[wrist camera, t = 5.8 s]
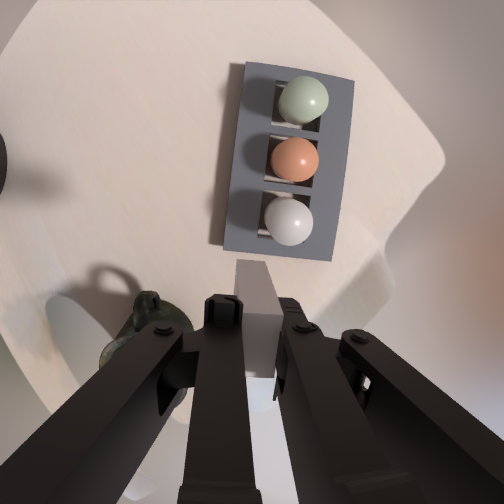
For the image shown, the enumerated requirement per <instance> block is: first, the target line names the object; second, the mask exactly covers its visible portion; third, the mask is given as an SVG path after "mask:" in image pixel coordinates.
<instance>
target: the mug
mask: <svg viewBox="0 0 504 504" xmlns="http://www.w3.org/2000/svg"><path fill="white" fill-rule="evenodd" d="M159 320H161V321H162V320H166V321H171V322H174V323H177V324H179V325H180V326H181V327H182V329H183V333H185V332H193V331H194V329H193V326H192V323H191V321H190V320H189V318H188V317H187V316H186V315H185V313H184V312H182V311H181V310H180V309H179V308H177V307H176V306H174V305H172V304H169V303H166V302H161V301H160V297H159V295H158V294H157V292H154V291H142V292H141V293H139V294H138V295H137V297H136V299H135V302H134V307H133V313H132V314H131V316H130V317H129V319H128V320H127V322H126V323H125V325H124V326H123V328H122V329H121V331H120V332H119V334H118V335H117V337H116V338H115V340H113V341H111V342H110V343H109V344H108V345H107V346H106V347H105V348H104V349H103V351H102V353H101V356H100V360H99V369H100V368H101V367H102V366H104V365H105V364H106V363H107V362H108V361H109V360H110V359H111V358H112V357H113V356H114V355H115V354H116V353H117V352H118V351H119V350H120V349H121V348H123V347H124V346H125V345H126V344H127V343H128V342H129V341H130V340H131V339H132V338H133V337H134V336H135V335H136V334H137V333H138V332H140V331H141V330H142V329H143V328H144V327H145V326H146V325H148V324H149V323H151V322H155V321H159ZM187 390H188V388H184V391H183V395H182V396H181V398H180V400H179V401H178V403H177V405H176V406H175V407H177V406H178V405H179V404H180V403H181V402H182V401H183V399H184V398H185V396H186V394H187Z"/></svg>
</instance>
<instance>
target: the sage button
mask: <svg viewBox="0 0 504 504" xmlns="http://www.w3.org/2000/svg"><path fill="white" fill-rule="evenodd" d="M328 102H329V97H328V93H327V90H326V88H325V87H324V85H323V84H322V83H321V82H320V81H318V80H317V79H315V78H312V77H309V76H299V77H296V78H294V79H292V80H291V81H289V82H288V84H287V85H286V87H285V88H284V90H283V92H282V93H281V95H280V97H279V100H278V110H279V113H280V115H281V116H282V117H283V118H284V119H285V120H286V121H287V122H289V123H291V124H294V125H304V124H307V123H309V122H311V121H312V120H314V119H315V118H317V117H318V116H320V115H321V114H322V113H323V112H324V111H325V110H326V108H327V106H328Z"/></svg>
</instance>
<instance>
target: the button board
mask: <svg viewBox="0 0 504 504" xmlns="http://www.w3.org/2000/svg"><path fill="white" fill-rule="evenodd" d="M299 76H309V77H312V78H315V79H317V80H318V81H320V82H321V83H322V84H323V85H324V87H325V88H326V90H327V93H328V97H329V102H328V106H327V108H326V110H325V111H324V112H323V113H322V114H321V115H320V116H318V117H317V124H316V132H312V131H306V130H300V129H294V128H287V127H281V126H274V125H271V120H272V112H273V104H274V96H275V88H276V84H279V85H285V86H286V85H287V84H288V82H289V81H291V80H292V79H294V78H296V77H299ZM354 82H355V81H352V80H348V79H344V78H340V77H336V76H331V75H327V74H322V73H317V72H312V71H307V70H301V69H296V68H290V67H284V66H277V65H270V64H263V63H255V62H246V65H245V72H244V79H243V86H242V93H241V101H240V108H239V116H238V124H237V131H236V139H235V147H234V156H233V164H232V172H231V181H230V190H229V199H228V208H227V217H226V226H225V236H224V245H223V250H226V251H236V252H245V253H255V254H264V255H274V256H283V257H293V258H302V259H312V260H321V261H331V260H332V255H333V249H334V243H335V238H336V232H337V225H338V219H339V213H340V206H341V200H342V193H343V185H344V178H345V171H346V163H347V154H348V146H349V137H350V127H351V117H352V107H353V95H354ZM270 135H273V136H280V137H287V138H293V137H299V138H303V139H306V140H308V141H312V142H314V147H315V148H316V150H317V153H318V156H319V164H318V167H317V170H316V172H315V173H314V174H313V175H312V176H311V177H310V181H309V187H304V186H297V185H290V184H282V183H275V182H267V181H264V177H265V169H266V161H267V153H268V145H269V137H270ZM263 190H270V191H278V192H286V193H294V194H301V195H308V196H307V203H306V207H307V208H308V209H309V210H310V212H311V214H312V217H313V228H312V231H311V233H310V235H309V236H308V238H307V239H306V240H305V241H303V242H302V243H300V244H297V245H293V246H286V245H282V244H280V243H278V242H277V241H275V240H274V239H273V238H272V237H271V236H262V235H257V233H258V225H259V217H260V209H261V201H262V193H263Z"/></svg>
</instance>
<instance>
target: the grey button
mask: <svg viewBox="0 0 504 504" xmlns="http://www.w3.org/2000/svg"><path fill="white" fill-rule="evenodd" d="M264 222H265V225H266V227H267V229H268V231H269V233H270V235H271V236H272V238H273V239H274V240H275V241H277V242H278V243H280V244H282V245H286V246H293V245H297V244H300V243H302V242H303V241H305V240H306V239H307V238H308V236H309V235H310V233H311V231H312V228H313V217H312V214H311V212H310V210H309V209H308V208H307V207H306V206H305V205H304V204H303V203H301V202H299V201H297V200H295V199H293V198H290V197H278V198H276V199H274V200H272V201H271V202H270V203H269V204H268V205H267V207H266V209H265V212H264Z"/></svg>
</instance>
